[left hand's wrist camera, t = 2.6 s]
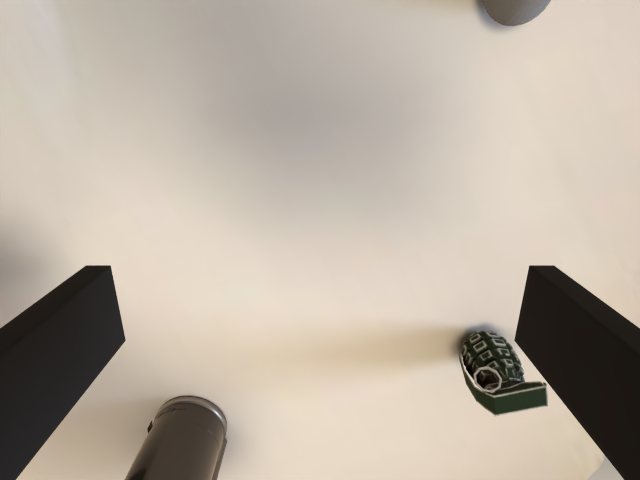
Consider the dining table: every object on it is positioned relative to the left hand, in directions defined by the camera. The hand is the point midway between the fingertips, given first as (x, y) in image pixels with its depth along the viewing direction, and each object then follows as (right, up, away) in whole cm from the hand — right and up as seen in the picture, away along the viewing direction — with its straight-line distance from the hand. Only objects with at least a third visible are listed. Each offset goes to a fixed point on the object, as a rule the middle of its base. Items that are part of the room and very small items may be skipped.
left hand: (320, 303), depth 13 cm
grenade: (+19, -11, +36) cm, 42 cm away
